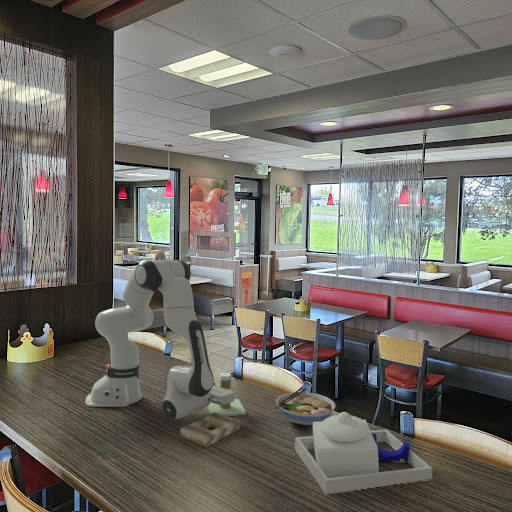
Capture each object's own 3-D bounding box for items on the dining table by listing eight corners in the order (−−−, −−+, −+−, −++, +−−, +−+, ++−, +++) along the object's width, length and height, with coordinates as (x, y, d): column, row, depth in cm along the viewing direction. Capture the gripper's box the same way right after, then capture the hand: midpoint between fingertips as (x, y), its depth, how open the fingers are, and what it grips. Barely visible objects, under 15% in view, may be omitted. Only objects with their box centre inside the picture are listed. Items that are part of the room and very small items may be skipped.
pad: (210, 417, 174) (210, 414, 174) (205, 403, 187) (205, 401, 187) (245, 414, 177) (246, 412, 177) (238, 401, 191) (238, 398, 190)
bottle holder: (205, 447, 150) (206, 438, 150) (180, 436, 157) (180, 428, 157) (239, 428, 164) (239, 420, 164) (214, 419, 171) (214, 412, 171)
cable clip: (368, 456, 144) (372, 439, 143) (367, 449, 148) (371, 432, 148) (406, 467, 142) (410, 449, 141) (404, 460, 146) (408, 443, 146)
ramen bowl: (319, 442, 156) (319, 419, 155) (262, 425, 168) (263, 404, 167) (344, 417, 177) (345, 397, 177) (293, 404, 189) (294, 385, 189)
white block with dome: (319, 478, 133) (316, 427, 132) (313, 447, 151) (311, 401, 150) (379, 476, 132) (376, 424, 131) (366, 444, 150) (364, 399, 149)
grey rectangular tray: (325, 494, 125) (326, 480, 125) (294, 449, 150) (295, 437, 150) (431, 481, 134) (432, 468, 133) (385, 440, 159) (386, 429, 159)
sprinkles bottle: (225, 403, 185) (226, 371, 184) (232, 407, 182) (233, 374, 181) (217, 406, 181) (217, 374, 181) (224, 410, 178) (225, 376, 177)
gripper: (220, 395, 163) (244, 385, 174) (180, 382, 175) (204, 373, 186) (220, 412, 163) (243, 401, 174) (180, 398, 175) (204, 388, 186)
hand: (223, 387), depth 180 cm, fingers open, 8 cm apart
